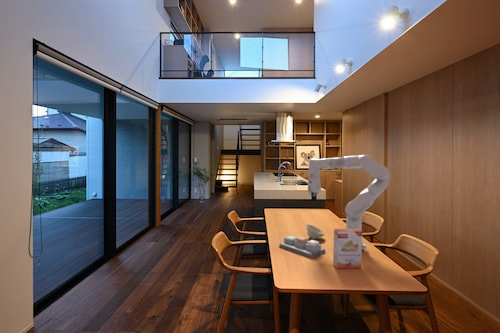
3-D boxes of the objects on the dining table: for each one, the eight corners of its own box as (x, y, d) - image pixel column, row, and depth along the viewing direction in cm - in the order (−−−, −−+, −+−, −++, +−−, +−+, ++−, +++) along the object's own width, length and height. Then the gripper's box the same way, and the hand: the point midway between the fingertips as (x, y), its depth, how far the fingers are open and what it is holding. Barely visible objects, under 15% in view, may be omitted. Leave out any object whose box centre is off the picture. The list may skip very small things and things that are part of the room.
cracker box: (337, 269, 140) (337, 231, 139) (332, 264, 146) (333, 228, 145) (361, 268, 141) (362, 231, 140) (356, 263, 147) (357, 227, 146)
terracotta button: (307, 242, 169) (307, 238, 169) (302, 244, 166) (302, 239, 166) (301, 240, 173) (301, 236, 173) (296, 242, 170) (296, 238, 169)
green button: (296, 241, 176) (296, 237, 176) (291, 243, 173) (291, 239, 172) (290, 240, 180) (290, 235, 180) (286, 241, 176) (286, 237, 176)
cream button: (318, 246, 162) (318, 241, 162) (314, 248, 159) (314, 243, 159) (312, 244, 166) (312, 239, 166) (307, 246, 163) (307, 241, 163)
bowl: (325, 242, 182) (325, 228, 182) (305, 241, 185) (305, 227, 185) (323, 236, 197) (323, 223, 197) (305, 234, 200) (305, 222, 199)
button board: (325, 252, 165) (325, 243, 164) (311, 258, 155) (311, 249, 155) (293, 241, 184) (293, 234, 184) (279, 246, 174) (279, 238, 174)
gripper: (312, 177, 175) (312, 203, 176) (324, 175, 185) (324, 201, 186) (303, 176, 181) (303, 202, 182) (315, 175, 191) (315, 199, 191)
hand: (313, 201), depth 184 cm, fingers closed
